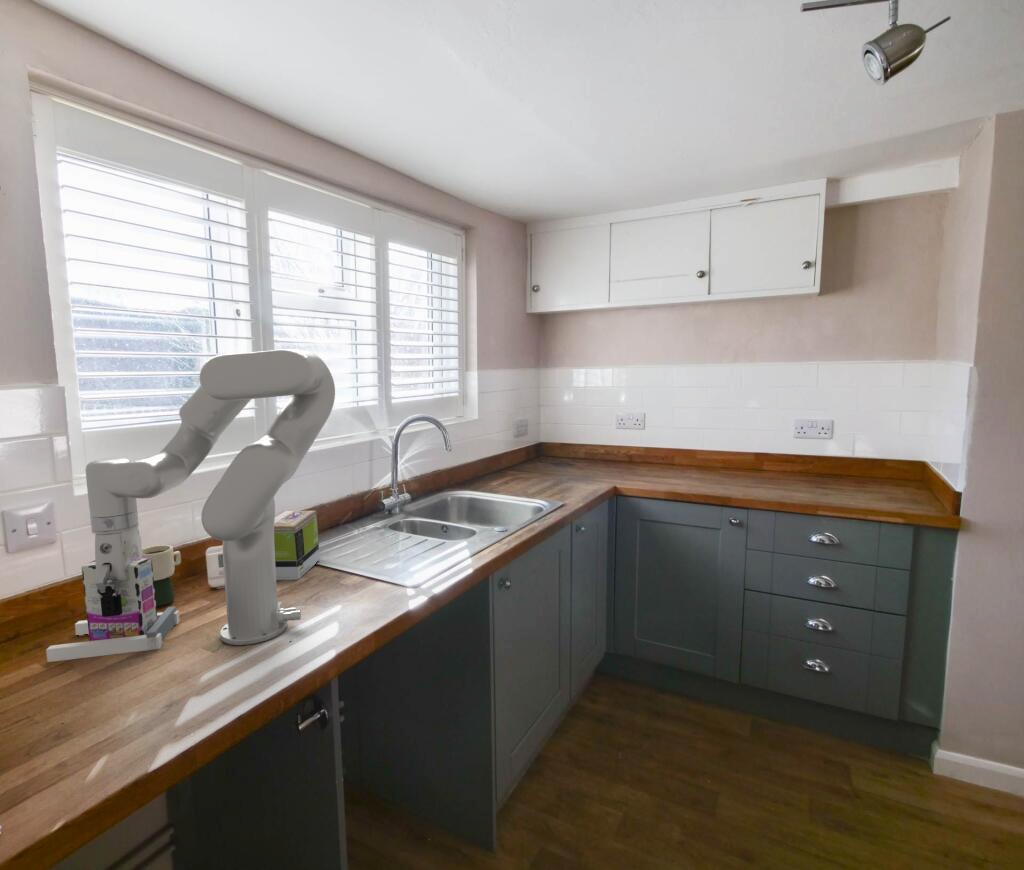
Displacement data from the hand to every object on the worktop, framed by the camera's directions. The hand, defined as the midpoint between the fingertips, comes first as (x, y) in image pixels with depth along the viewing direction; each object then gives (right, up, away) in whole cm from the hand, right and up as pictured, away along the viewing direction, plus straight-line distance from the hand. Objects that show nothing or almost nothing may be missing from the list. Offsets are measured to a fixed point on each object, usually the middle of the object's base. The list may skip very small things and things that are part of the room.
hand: (123, 604), depth 110 cm
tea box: (+18, -3, +38) cm, 43 cm away
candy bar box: (0, -7, +1) cm, 7 cm away
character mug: (-4, -5, +18) cm, 19 cm away
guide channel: (-2, -7, 0) cm, 7 cm away
